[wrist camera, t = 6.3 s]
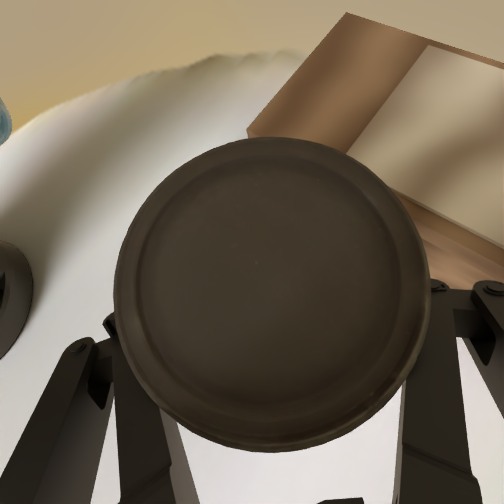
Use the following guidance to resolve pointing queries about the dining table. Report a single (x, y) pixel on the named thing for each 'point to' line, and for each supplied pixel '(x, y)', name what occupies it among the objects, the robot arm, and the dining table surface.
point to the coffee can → (272, 294)
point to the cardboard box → (410, 134)
